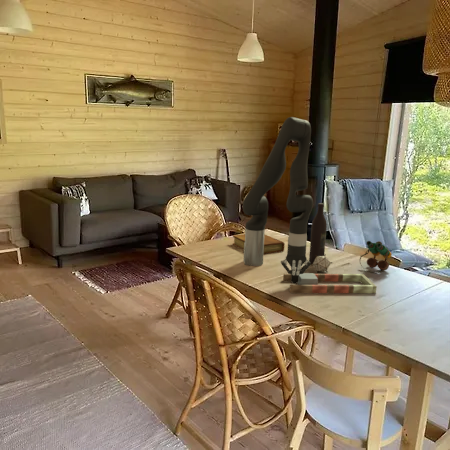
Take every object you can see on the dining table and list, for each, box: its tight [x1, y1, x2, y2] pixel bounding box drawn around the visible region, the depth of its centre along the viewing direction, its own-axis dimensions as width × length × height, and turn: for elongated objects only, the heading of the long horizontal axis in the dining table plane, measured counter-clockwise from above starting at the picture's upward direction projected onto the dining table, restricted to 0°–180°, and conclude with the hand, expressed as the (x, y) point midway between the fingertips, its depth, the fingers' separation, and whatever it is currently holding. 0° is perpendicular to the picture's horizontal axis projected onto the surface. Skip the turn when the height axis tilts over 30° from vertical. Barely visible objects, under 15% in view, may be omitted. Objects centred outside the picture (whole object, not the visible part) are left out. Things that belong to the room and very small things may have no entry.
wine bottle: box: [308, 202, 328, 264], centre depth 215 cm, size 7×7×30 cm
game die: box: [310, 253, 333, 274], centre depth 206 cm, size 9×8×10 cm
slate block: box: [297, 272, 319, 285], centre depth 187 cm, size 7×7×4 cm
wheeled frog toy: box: [359, 240, 393, 274], centre depth 209 cm, size 14×14×15 cm
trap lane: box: [282, 273, 378, 294], centre depth 187 cm, size 36×15×3 cm, turn 94°
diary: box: [232, 233, 285, 255], centre depth 243 cm, size 23×19×6 cm
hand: (294, 283), depth 186 cm, fingers closed
